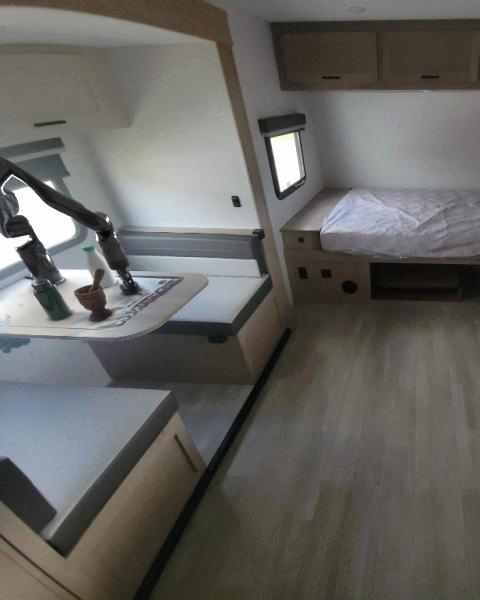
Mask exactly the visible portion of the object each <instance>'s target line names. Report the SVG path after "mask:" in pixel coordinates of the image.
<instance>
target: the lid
mask: <svg viewBox="0 0 480 600" xmlns="http://www.w3.org/2000/svg"><path fill="white" fill-rule="evenodd" d="M133 281H134V283H135V284H134V286H135V288H136V290H137V291H136V292H133V293H131V292H130V290H129V287H128V286H127V284H126V283H124V284H123V283H122V284H121V285H119V289H120V291H121V293H122V295H124V296H125V295H126V296H131V295H135V294H137V293H139V292H140V291H141V289H142V288H141V286H140V284H139V282H138V281H135V280H133ZM129 283H131V281H129Z"/></svg>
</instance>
